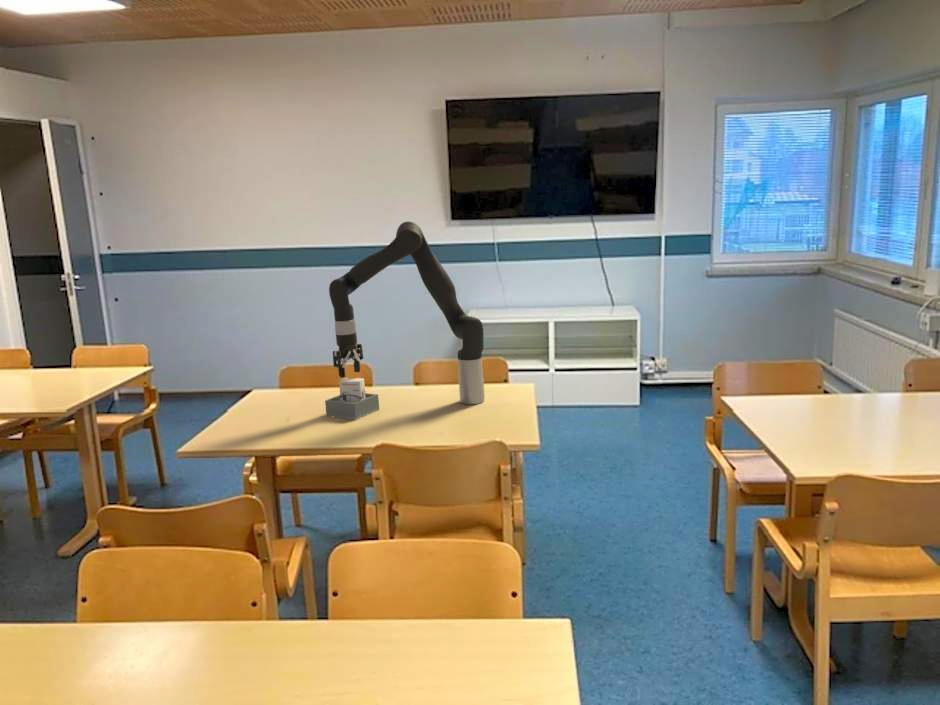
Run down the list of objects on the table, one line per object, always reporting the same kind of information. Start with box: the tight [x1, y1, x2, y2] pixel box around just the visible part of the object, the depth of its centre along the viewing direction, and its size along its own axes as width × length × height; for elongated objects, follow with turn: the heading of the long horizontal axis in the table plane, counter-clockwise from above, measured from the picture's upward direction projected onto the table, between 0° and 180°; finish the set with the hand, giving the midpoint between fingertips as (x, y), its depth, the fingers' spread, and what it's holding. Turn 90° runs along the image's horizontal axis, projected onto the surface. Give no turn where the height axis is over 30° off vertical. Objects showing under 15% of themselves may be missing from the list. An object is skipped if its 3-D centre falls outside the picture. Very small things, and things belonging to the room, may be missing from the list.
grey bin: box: [324, 392, 380, 420], centre depth 275 cm, size 14×14×6 cm
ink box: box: [338, 377, 366, 403], centre depth 274 cm, size 9×5×12 cm, turn 78°
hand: (350, 374), depth 273 cm, fingers open, 8 cm apart
